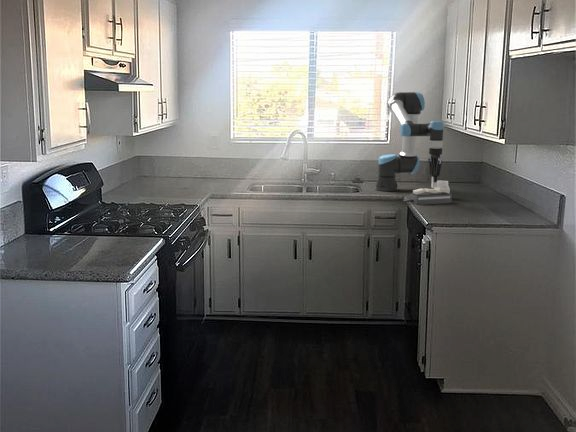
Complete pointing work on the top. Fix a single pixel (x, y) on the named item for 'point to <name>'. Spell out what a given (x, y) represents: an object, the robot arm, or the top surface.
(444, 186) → the mug
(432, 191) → the rocker
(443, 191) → the rocker
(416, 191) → the rocker
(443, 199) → the power strip
